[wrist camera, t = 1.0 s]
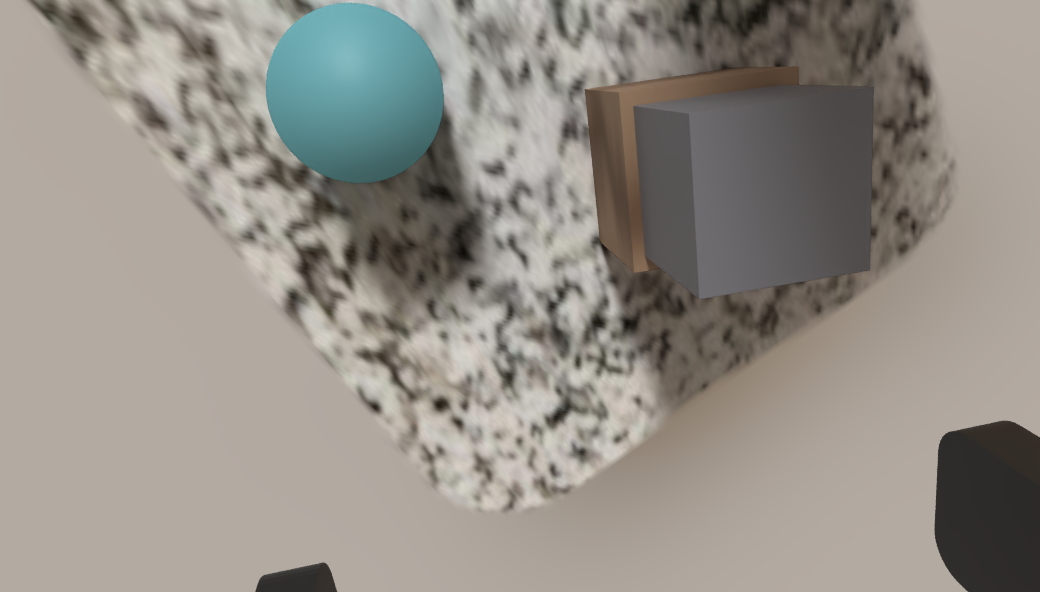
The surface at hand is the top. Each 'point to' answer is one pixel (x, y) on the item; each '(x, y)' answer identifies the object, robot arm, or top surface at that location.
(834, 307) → the top surface
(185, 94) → the top surface
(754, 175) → the charcoal top block
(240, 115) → the top surface
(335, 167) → the teal cylinder
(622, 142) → the walnut base block
